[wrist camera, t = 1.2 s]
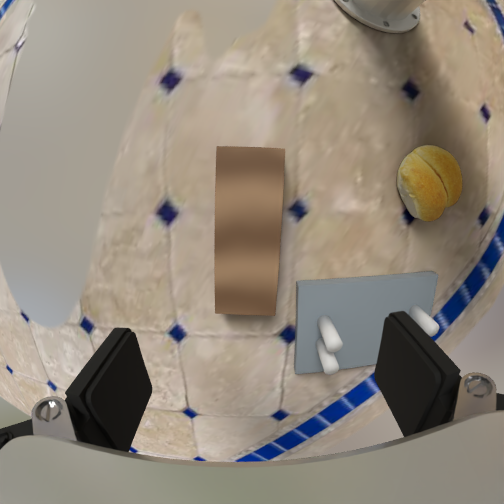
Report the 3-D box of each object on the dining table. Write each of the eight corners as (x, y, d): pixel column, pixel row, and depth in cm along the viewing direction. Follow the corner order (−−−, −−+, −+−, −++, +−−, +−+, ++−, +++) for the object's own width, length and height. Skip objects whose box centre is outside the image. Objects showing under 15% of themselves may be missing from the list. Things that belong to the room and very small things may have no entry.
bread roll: (459, 191, 28) (479, 195, 24) (413, 228, 29) (432, 236, 26) (434, 133, 26) (453, 130, 22) (383, 167, 28) (400, 167, 24)
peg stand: (296, 280, 31) (306, 307, 25) (432, 270, 31) (461, 290, 24) (294, 366, 34) (300, 401, 28) (415, 349, 34) (436, 375, 28)
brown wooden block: (221, 150, 28) (216, 146, 24) (280, 152, 28) (285, 148, 24) (219, 296, 32) (215, 313, 28) (272, 298, 32) (275, 315, 28)
